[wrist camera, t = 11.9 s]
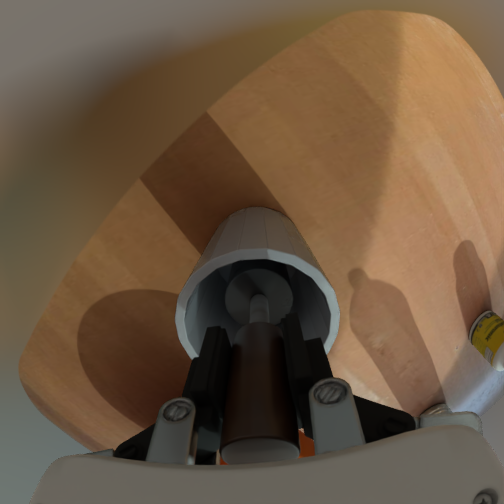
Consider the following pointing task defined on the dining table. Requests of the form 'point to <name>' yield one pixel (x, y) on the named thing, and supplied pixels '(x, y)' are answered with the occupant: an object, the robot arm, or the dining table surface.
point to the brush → (258, 367)
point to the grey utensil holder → (247, 248)
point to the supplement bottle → (489, 338)
